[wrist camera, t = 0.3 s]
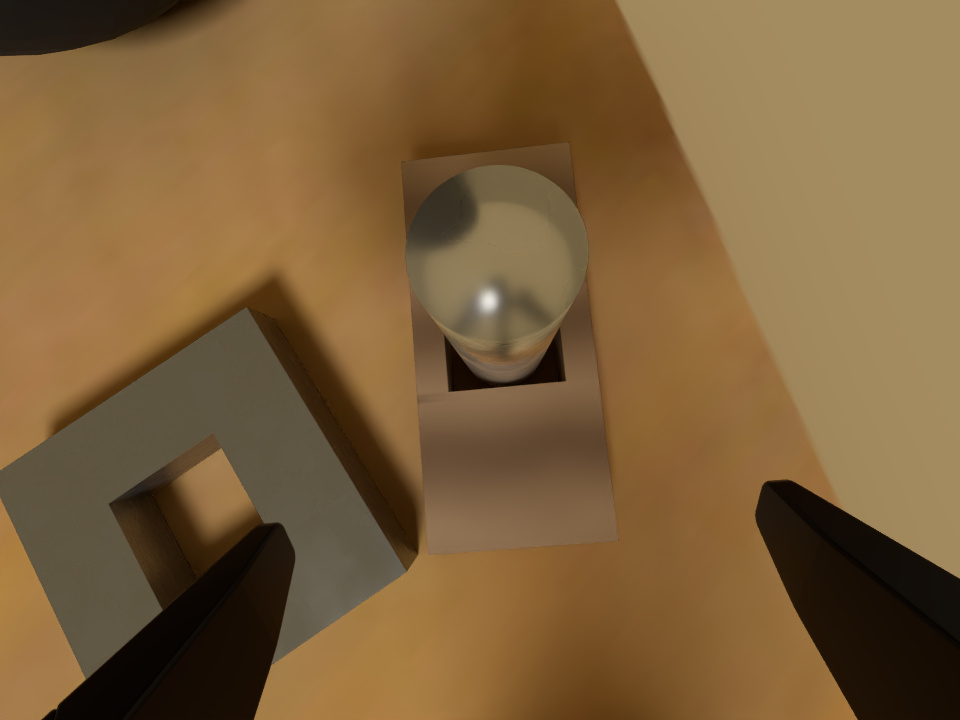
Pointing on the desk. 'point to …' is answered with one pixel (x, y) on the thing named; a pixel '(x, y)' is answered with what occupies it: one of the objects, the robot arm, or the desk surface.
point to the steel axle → (498, 266)
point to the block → (174, 450)
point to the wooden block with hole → (510, 414)
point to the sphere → (70, 23)
